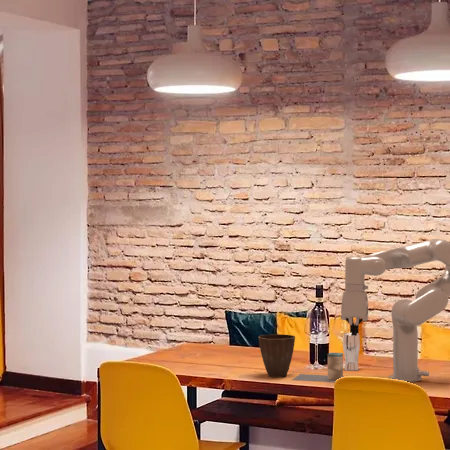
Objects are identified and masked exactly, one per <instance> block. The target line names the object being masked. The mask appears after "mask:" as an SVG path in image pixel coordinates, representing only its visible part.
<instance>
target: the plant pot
mask: <svg viewBox="0 0 450 450" xmlns="http://www.w3.org/2000/svg"><path fill="white" fill-rule="evenodd" d="M295 340H296V336H295V335H293V334H282V333H281V334H280V333H279V334H263V335H259V336H258V344H259V349H260V354H261V357H262V362H263V364H264V369H265V370H266V374H267V375H268V377H269V378H283V377H284V378H285V377H286V376H287V375H288V372H289V369H290V366H291V363H292V358H293V354H294V348H295V342H296V341H295Z"/></svg>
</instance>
